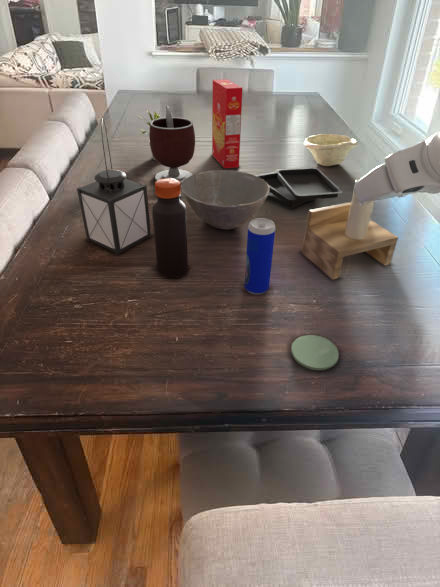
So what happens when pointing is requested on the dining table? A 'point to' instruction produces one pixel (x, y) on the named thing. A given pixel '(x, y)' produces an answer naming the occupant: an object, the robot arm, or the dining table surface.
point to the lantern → (114, 209)
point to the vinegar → (170, 229)
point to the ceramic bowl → (225, 196)
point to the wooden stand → (342, 240)
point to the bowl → (329, 148)
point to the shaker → (358, 218)
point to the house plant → (149, 124)
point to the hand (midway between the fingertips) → (380, 197)
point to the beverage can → (259, 255)
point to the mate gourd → (172, 145)
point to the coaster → (314, 352)
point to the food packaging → (226, 122)
